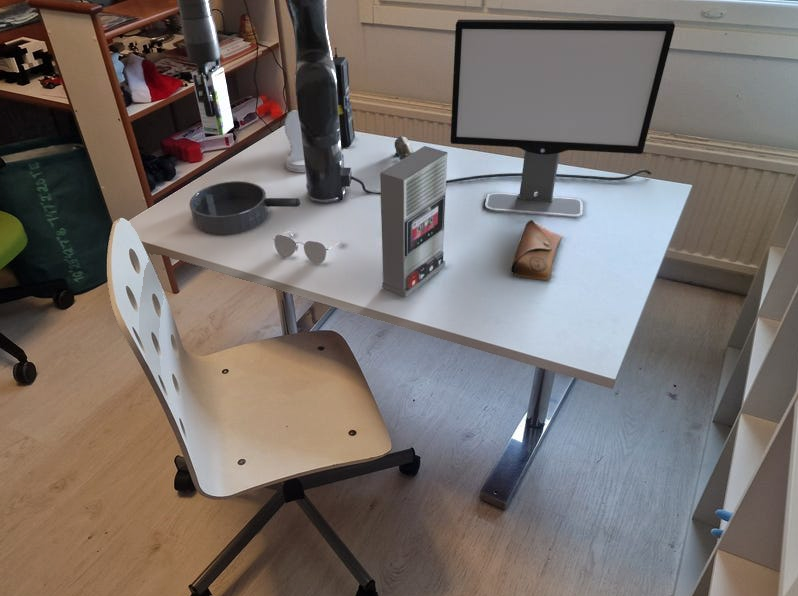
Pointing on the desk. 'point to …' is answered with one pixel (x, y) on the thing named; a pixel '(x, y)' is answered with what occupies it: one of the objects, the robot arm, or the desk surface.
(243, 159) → the desk surface
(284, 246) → the sunglasses
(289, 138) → the chess piece
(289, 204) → the pan handle
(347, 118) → the portable radio
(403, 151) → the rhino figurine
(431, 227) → the cassette tape recorder
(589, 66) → the computer monitor
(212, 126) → the syrup box
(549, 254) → the sunglasses case
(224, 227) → the pan
